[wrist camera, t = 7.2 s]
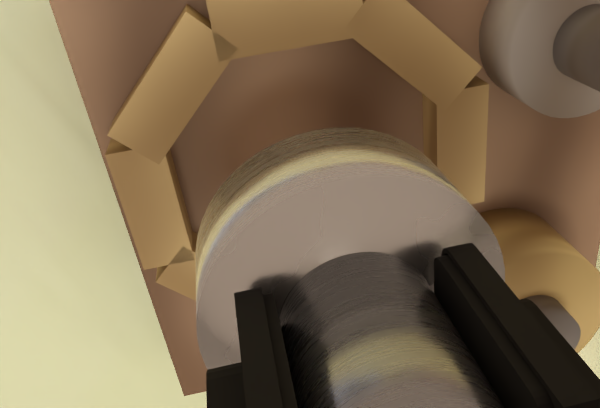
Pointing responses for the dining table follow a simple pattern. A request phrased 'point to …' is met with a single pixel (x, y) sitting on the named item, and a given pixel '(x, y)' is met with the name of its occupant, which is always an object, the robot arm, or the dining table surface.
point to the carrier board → (350, 122)
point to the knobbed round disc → (344, 270)
